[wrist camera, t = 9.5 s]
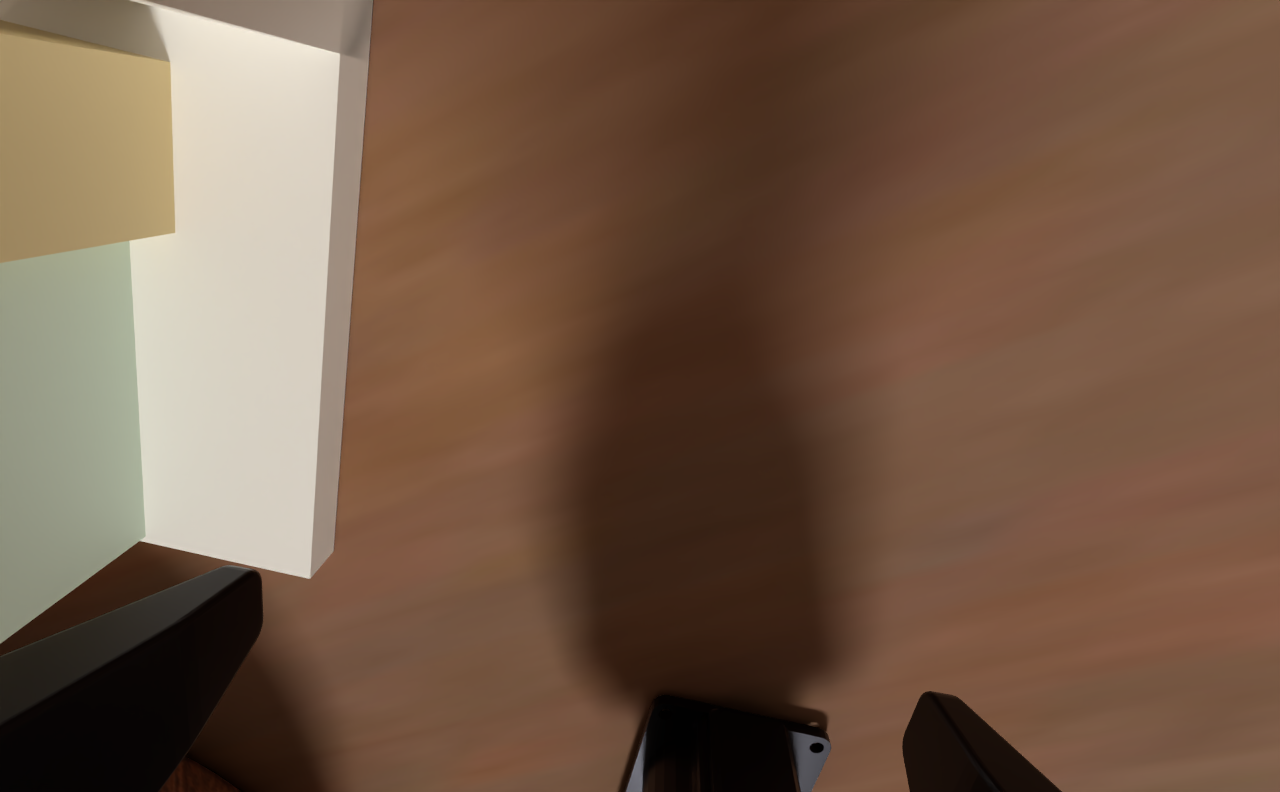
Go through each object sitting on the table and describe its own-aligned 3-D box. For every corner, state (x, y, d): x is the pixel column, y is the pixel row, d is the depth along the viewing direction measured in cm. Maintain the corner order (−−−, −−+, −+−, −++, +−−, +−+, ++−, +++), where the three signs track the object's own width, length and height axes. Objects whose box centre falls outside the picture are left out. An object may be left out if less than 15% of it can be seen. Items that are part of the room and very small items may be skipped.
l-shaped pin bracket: (333, 551, 22) (155, 762, 14) (-29, 469, 21) (-410, 643, 14) (375, -30, 16) (100, -190, 8) (-133, -160, 15) (-913, -457, 8)
